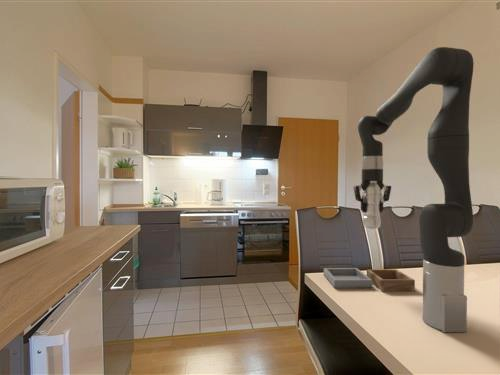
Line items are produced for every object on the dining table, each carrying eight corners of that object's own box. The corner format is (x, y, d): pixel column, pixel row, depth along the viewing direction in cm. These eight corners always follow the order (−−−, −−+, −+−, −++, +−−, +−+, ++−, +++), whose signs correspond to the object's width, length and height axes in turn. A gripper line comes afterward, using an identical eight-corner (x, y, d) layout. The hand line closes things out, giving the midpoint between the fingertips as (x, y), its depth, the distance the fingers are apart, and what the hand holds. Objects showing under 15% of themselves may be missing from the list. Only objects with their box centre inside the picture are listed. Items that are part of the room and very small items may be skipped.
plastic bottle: (377, 227, 106) (377, 177, 106) (383, 230, 100) (384, 177, 99) (360, 227, 107) (361, 177, 107) (365, 230, 100) (366, 177, 100)
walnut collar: (414, 291, 96) (414, 280, 96) (381, 291, 96) (381, 280, 96) (396, 279, 108) (396, 269, 108) (366, 279, 108) (366, 269, 108)
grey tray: (372, 288, 99) (372, 280, 99) (334, 288, 99) (334, 280, 99) (356, 275, 113) (356, 268, 113) (323, 275, 113) (323, 268, 113)
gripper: (357, 168, 99) (357, 213, 100) (396, 167, 99) (395, 213, 99) (350, 169, 107) (349, 211, 107) (386, 168, 106) (385, 211, 107)
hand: (371, 212), depth 103 cm, fingers closed on plastic bottle, 5 cm apart
